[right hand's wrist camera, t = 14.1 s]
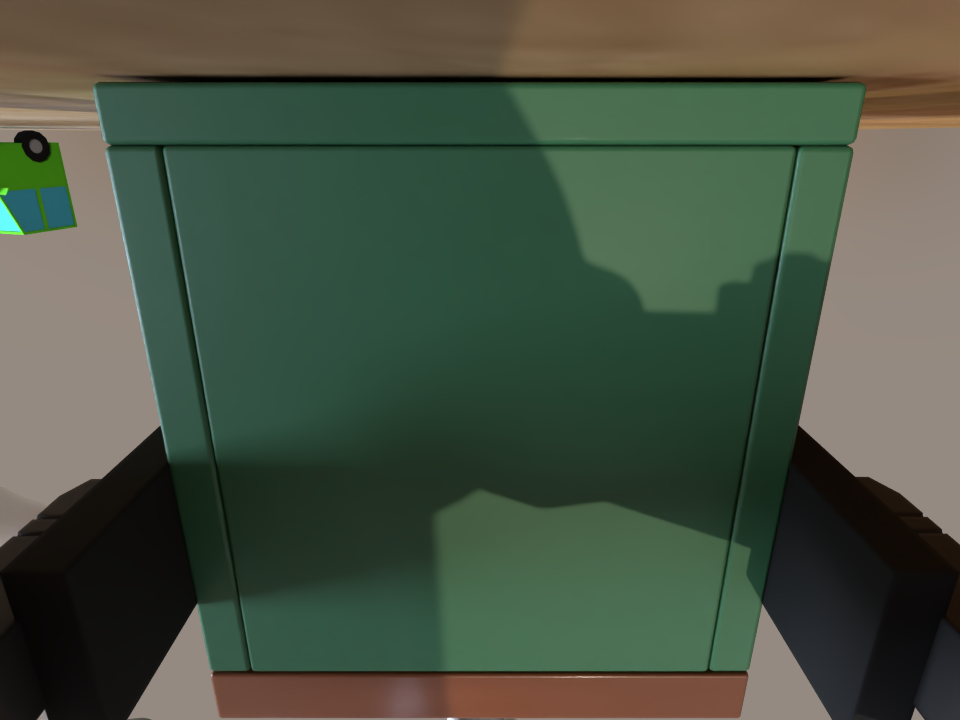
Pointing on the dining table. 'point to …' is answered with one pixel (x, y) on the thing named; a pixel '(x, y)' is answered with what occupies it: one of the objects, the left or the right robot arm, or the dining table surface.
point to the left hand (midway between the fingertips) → (482, 681)
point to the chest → (479, 358)
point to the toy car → (33, 186)
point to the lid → (479, 694)
